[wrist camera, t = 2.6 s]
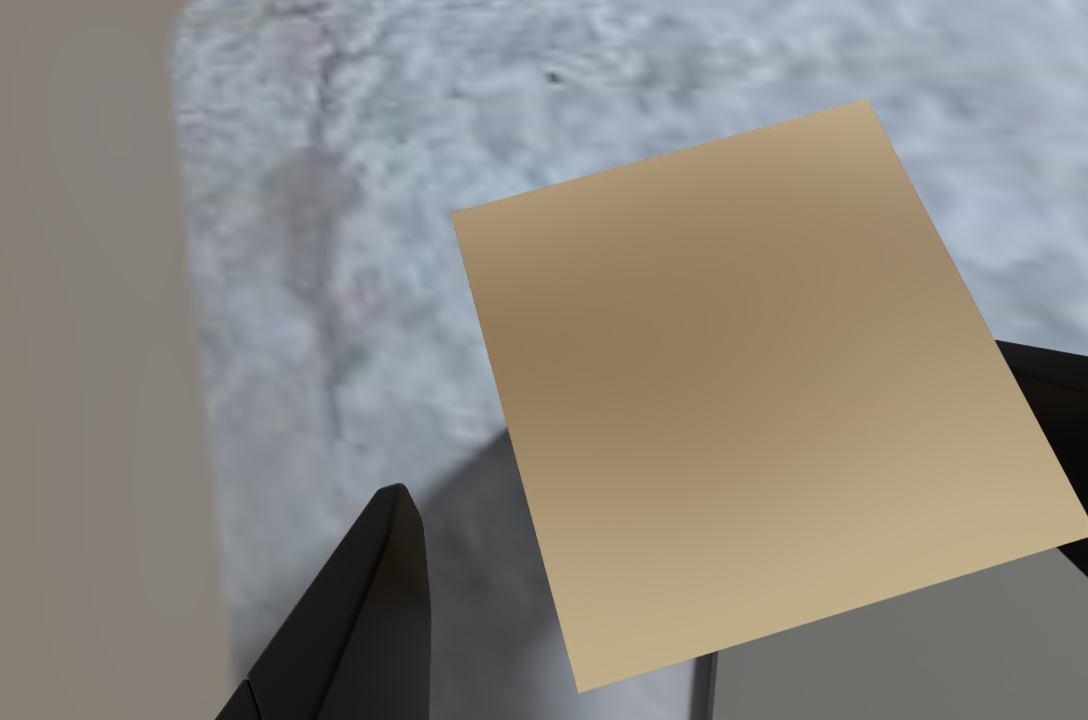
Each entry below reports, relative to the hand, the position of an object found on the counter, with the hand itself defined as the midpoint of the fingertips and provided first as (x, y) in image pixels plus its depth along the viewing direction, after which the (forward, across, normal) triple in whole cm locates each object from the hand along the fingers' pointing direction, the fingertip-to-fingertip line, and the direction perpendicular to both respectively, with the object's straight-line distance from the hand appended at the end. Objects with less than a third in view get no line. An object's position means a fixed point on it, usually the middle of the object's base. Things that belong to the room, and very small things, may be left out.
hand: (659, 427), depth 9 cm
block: (+6, 0, +6) cm, 8 cm away
